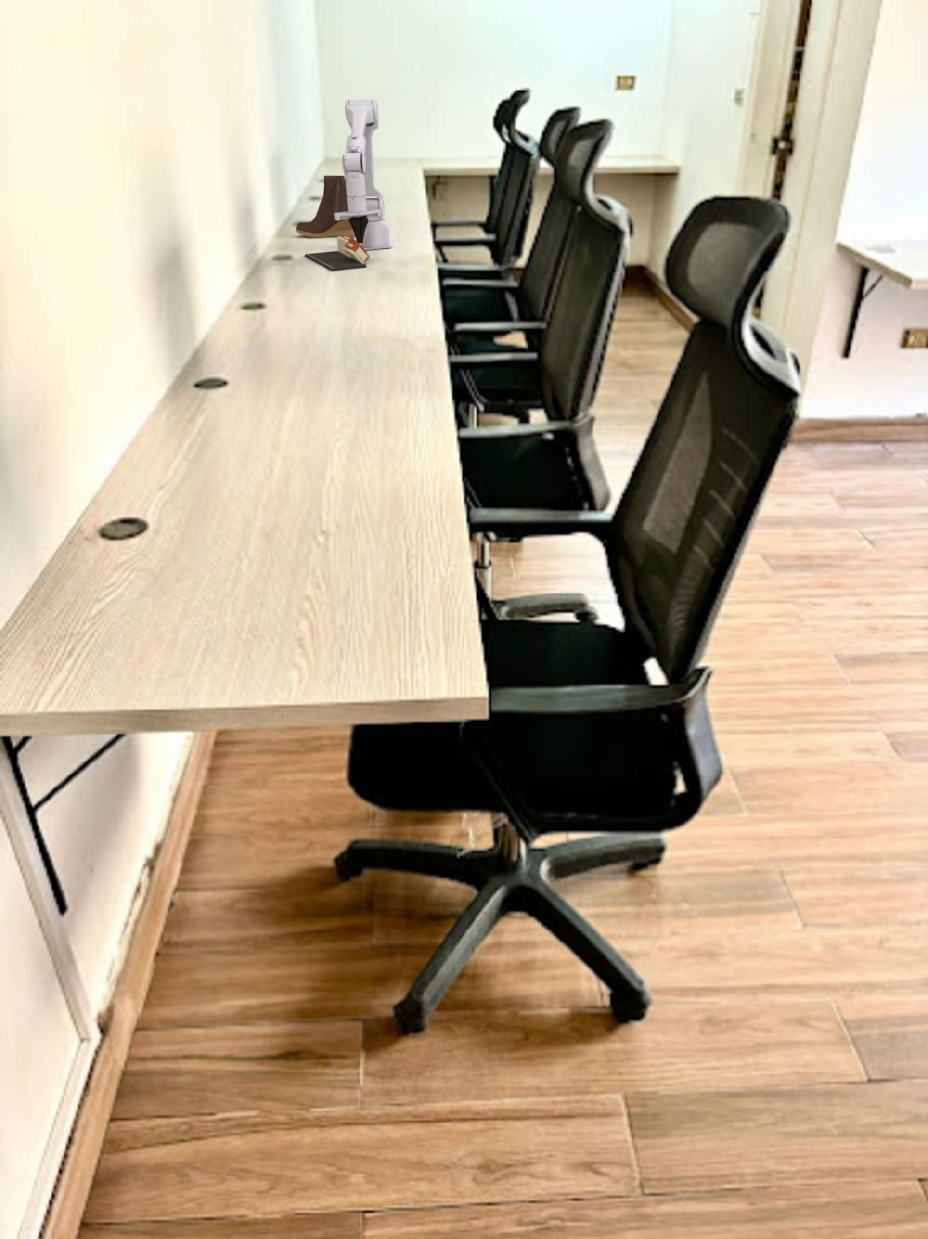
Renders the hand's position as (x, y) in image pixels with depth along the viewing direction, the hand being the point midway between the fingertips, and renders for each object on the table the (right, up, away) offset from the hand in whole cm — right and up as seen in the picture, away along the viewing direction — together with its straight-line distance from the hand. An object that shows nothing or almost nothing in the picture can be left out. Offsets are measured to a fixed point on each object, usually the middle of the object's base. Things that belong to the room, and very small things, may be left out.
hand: (359, 242), depth 298 cm
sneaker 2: (+1, -4, +1) cm, 4 cm away
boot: (-16, +20, +44) cm, 51 cm away
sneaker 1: (-5, +1, +13) cm, 14 cm away
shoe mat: (-8, -5, +3) cm, 10 cm away
